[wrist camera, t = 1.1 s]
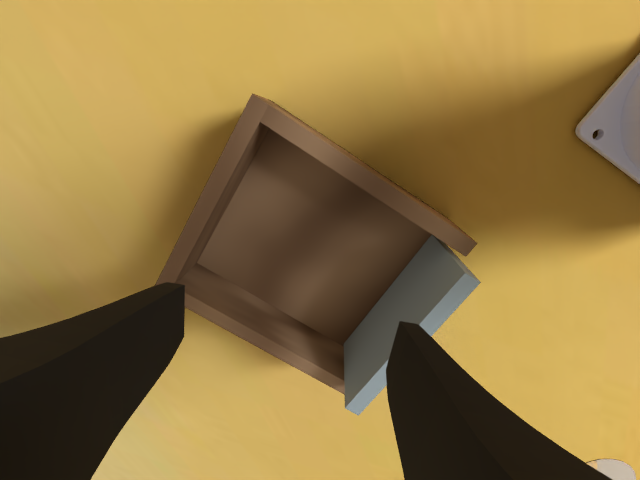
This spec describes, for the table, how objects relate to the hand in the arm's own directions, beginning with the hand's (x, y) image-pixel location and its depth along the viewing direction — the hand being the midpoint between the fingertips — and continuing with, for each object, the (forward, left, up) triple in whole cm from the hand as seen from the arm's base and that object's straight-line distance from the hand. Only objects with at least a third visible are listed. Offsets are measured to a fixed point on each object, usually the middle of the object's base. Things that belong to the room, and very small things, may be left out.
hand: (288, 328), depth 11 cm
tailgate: (-6, 0, -8) cm, 10 cm away
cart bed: (0, 0, -9) cm, 9 cm away
